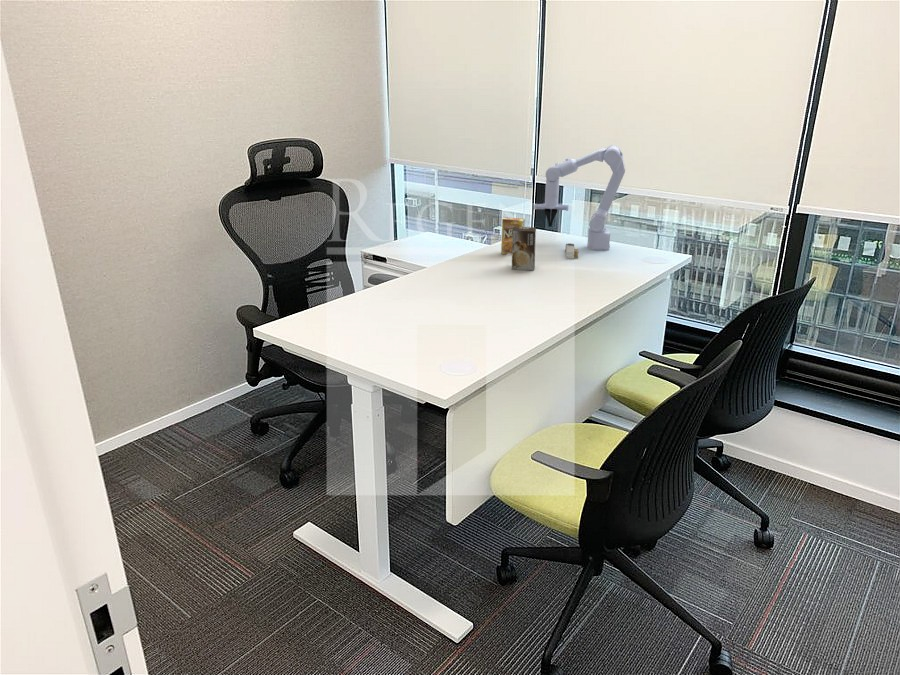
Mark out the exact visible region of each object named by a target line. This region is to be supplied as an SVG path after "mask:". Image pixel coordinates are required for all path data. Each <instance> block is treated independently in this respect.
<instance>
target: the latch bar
mask: <svg viewBox="0 0 900 675" xmlns="http://www.w3.org/2000/svg"><path fill="white" fill-rule="evenodd" d="M574 249H575V244H574V243H566V244H565V256H566V259H567V260H568V259H569V260H574V259H575V258H574Z"/></svg>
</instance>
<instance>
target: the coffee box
mask: <svg viewBox="0 0 900 675" xmlns="http://www.w3.org/2000/svg"><path fill="white" fill-rule="evenodd" d="M536 233H537V227H534V226H533V227H532V226H531V227H529V226H524V227H514V228H513V237H512V253H511V270H515V271H516V270H517V271H535V268H536V242H537V241H536V239H537V238H536V236H537V234H536Z"/></svg>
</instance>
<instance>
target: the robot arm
mask: <svg viewBox="0 0 900 675" xmlns="http://www.w3.org/2000/svg"><path fill="white" fill-rule="evenodd" d="M597 161H598V162H600V163H603V162H605V163H606V164H607V165H608V166H609V167H610V170H611V171H612V175H611V176H610V179H609V181H608V184H607V186H606V188H605V190H604V192H603V195H602V198H601V200H600V203H599V206H598V207H597V210H596V211H595V213H594V214H592V216H591V218H590V221H589V228H588V231H587V232H588V233H587V244H586V246H587V249H589V250H591V251H592V250H593V251H609V250H610V248H611V243H610V242H611V230H607V229H606V228H605V224H606V222H607V214H608V213H609V210H610V208H611V206H612V203H613V201H614V199H615V196H616V194H617V191H618V190H619V187H620V185H621V182H622V181H623V177H624V176H625V173H626V167H625V166H626V165H625V161H624V156H623V152H622V150H621V149H620V148H619V146H617V145H612V144H611V145H609V146H608V147H602V148H600V149H596V150H595V151H593V152H589V153H587V154H585V155H584V156H582V157H579V158H576V159H574V158H569V157H568V158H565V160H564V161H562V162H560V163H558V162H557V163H555V164H554V165H551V166H549V167H548V169H546V171H545V178H546V179H545V182H546V183H545V190H544V191H545V192H544V193H545V194H544V203H534V205H533V210H544V214H545V216H546V219H547V223H548V226H547V227H551V228H552V226H553V222H554V219H555V217H556V215H557V213H558V211H569V204H561V203H560V204H559V199H560V198H559V194H560V192H559V191H560V178H564V177H566V176H568V175H571V174H573V173H575V172H577V171H578V169H579V167H582V166H584V165H588V164H590V163H592V162H597Z"/></svg>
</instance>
